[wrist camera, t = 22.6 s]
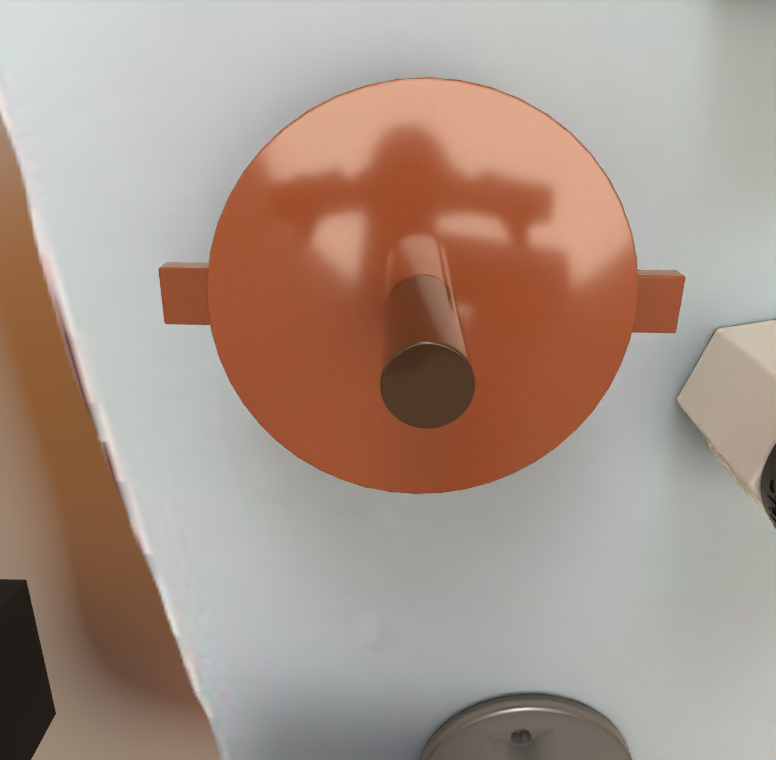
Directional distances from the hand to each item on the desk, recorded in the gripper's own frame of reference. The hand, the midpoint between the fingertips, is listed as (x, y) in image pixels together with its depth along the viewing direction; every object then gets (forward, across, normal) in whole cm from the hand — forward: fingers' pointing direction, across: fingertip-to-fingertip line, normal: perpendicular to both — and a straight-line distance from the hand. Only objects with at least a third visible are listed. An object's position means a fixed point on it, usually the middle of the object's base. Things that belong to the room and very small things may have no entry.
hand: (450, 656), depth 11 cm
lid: (+19, 0, 0) cm, 19 cm away
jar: (+29, -19, +7) cm, 35 cm away
